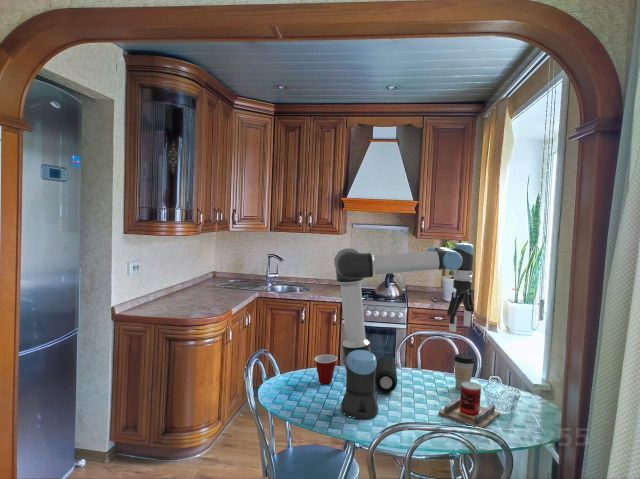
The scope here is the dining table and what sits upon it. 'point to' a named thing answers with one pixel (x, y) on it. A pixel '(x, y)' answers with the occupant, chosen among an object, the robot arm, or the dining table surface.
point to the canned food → (470, 398)
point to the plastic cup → (325, 367)
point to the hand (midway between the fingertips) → (459, 328)
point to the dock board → (477, 420)
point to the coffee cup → (463, 368)
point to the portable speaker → (386, 374)
